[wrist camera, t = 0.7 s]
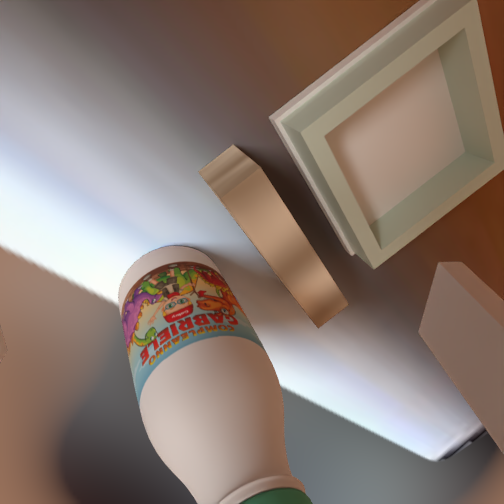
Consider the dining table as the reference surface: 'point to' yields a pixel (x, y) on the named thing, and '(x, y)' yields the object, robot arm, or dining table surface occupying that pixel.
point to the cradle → (399, 128)
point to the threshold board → (274, 232)
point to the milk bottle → (205, 381)
